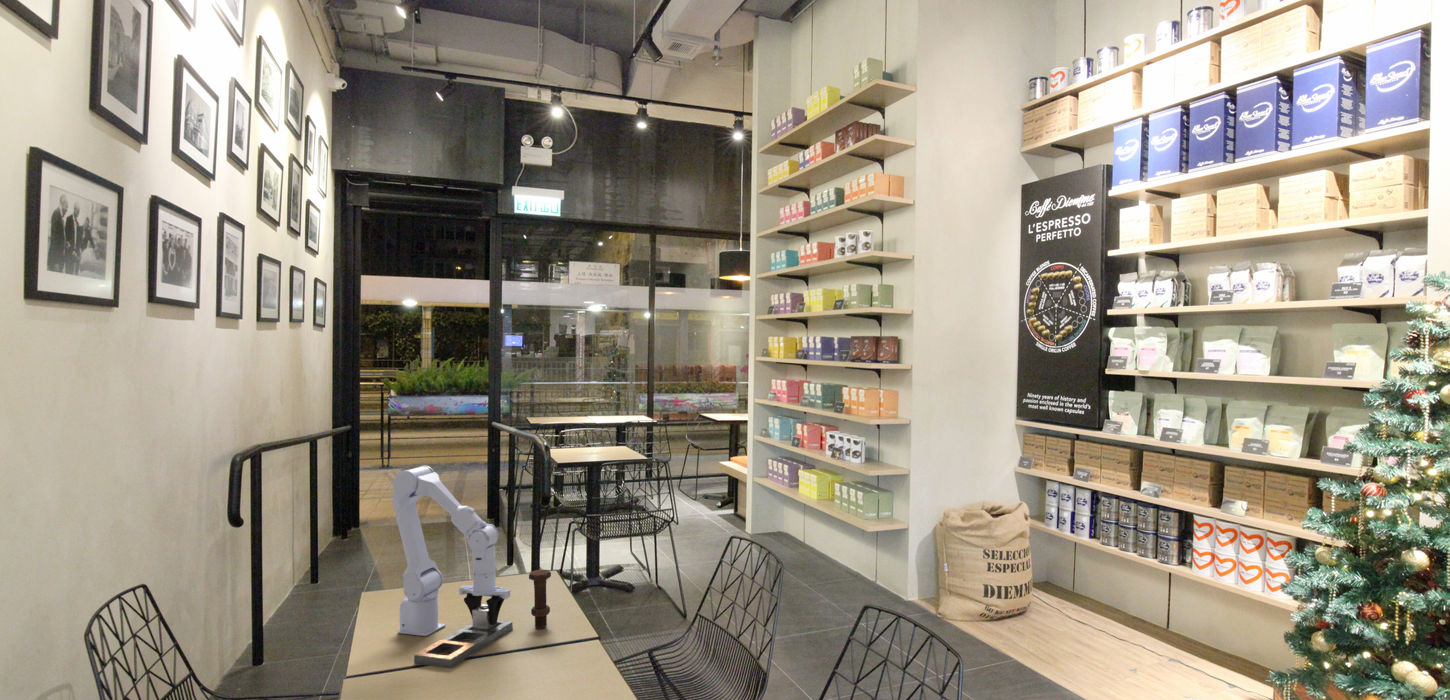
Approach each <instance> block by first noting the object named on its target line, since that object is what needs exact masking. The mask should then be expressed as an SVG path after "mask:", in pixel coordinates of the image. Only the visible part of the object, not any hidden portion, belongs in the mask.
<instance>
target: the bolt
mask: <svg viewBox="0 0 1450 700" xmlns="http://www.w3.org/2000/svg"><path fill="white" fill-rule="evenodd" d="M551 576H552V572H551V571H550V570H549V569H537V570H536V569H535V570H532V571H530V573H529V574H528V579H529V580H530V581H531V580H532V581H533V590H534V591H533V592H534V597H533V598H534V606H532V608H531V609H530V610H531V611H530V614H531V615H532V616H533V617H534V628H536V629H545V628H546V627H547V625H548V623H547V622H548V618H547V616H548V615H549V614H550V612H551V607H550V606H549V605H547V580H548V579H550V578H551Z"/></svg>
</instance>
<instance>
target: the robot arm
mask: <svg viewBox="0 0 1450 700" xmlns="http://www.w3.org/2000/svg"><path fill="white" fill-rule="evenodd" d="M392 486H393V495H392V506H393V511H394V514H395V519H396V523H397V527H398V531H399V534H400V538H401V543H402V547H403V551H404V554H405V560H406V563H407V566H406V569H405V570H404V572H403V575H402V577H403V588H402V591H403V594H404V596H405V597H404V598H403V599H402V601H401V603H400V606H399V630H397V633H398V634H406V635H412V636H413V635H415V636H420V637H421V636H422V637H427V636H429V635H431V634H433V633H435V632H437V631H439V630H441V629H442V628H444V627H446V623H440V622H439V589H440V588H441V587H442V586H443V583H444V577H443V574H442V572H441V571H440V569H439V568H438V566H437V563H436V561H434V560H432V559H431V558H430V557H429V553H428V548H427V545H426V541H425V537H424V532H423V528H422V525H421V524H422V523H421V521H420V516H419V513H418V508H417V504H416V503H417V502H418V499H419V498H420V497H421V496H428V497H430V498H432V499H433V500H434V501H435V502H436V503H438V504H439V505H440V506H441V507H442V508H443V509H444V510H445V511H446V512H448V513H449V514H450V515H451V517H450V520H451V521H450V522H451V523H452V524H453V525H454V526H455V527H456V528H457V530H459V531H460V532H461V533H462V534H463V535H464V536H465V537H466V539H467V545H468V547H469V548H470V549H471V556H472V585H466V584H465V585H461V586H460V587H459V591H458V592H459V596H460V595H462V596H463V595H466V597H464V598H463V602H464V603H465V605H466V606H467V608H468V610H469V612H470V615H471V619H472V620H473V614H472V610H473V609H475V608H477V607H479V606H481V605H482V599H483V597H489V598H488V599H486V601H485V602H486V605H488V609H489V620H490V625H494V624H495V623H497V620H499V619H498V618H499V614H500V611H501V608H502V605H503V603H504V602H505V600H506V599H509V598H510V597H511V589H507V588H504V587H500V586H497V584H496V583H497V581H496V580H497V579H496V543H498V541H499V538H500V533H499V530H498V529H497V527H496V526H495V525H494V524H492V523H491V524H490V523H487V522H486V521H485V520H482V518H481V517H479V515H478V514H477V513H476V512H475V511H476V510H475V509H474V508H473V507H470V506H469V505H462V504H460V502H459V501H458V500H457V498H455V496H454V495H453V494H452V493H451V492H450V490H449V489H448V488H447V487H446V486H445V485H444V483H443V482H442V481H441V479H440V475H439V474H438V473H437V472H435V471H434V469H433V468H432V467H430V466H428V465H420V466H417V467H415V468H411V469H407V470H401V471H400V472H398V473H397V475H396V476H395V478H394V479H393V480H392Z"/></svg>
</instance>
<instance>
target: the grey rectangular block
mask: <svg viewBox="0 0 1450 700" xmlns="http://www.w3.org/2000/svg"><path fill="white" fill-rule="evenodd" d="M472 614H473V619H472V622H473V630H475V631H484V632H489V631H491V630H492V629H494V628H496V627H497V623H495V624H494V625H490V620H489V609H488V605H487V604H484V603H481V606H479V607H477V608H475V609H473V610H472Z"/></svg>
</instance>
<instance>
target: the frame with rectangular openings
mask: <svg viewBox="0 0 1450 700" xmlns="http://www.w3.org/2000/svg"><path fill="white" fill-rule="evenodd" d="M513 627H514V626H513V621H508V620H500V619H497V627H496V628H494V629H492V630H491V631H489V632H484V631H475V630H473V621H472V622H470V623H469V624H467V625H465V626H463V627H462V628H461V627H460V629H458V630H457V631H454V632H452V633H451V634H449V635H447V636H445V637H444V638H442V639H439V640H437V641H436V642H434V643H432V644H430V645H429V646H426V647H425V648H423V649H421V650H420V651H418V652H416V653H415V654H414V655H413V656H414V657H413V658H414V659H413V660H414V661H413V664H414V665H421V666H422V665H423V666H429V667H430V666H431V667H436V668H437V667H438V668H443V669H444V668H445V669H452V668H454V667H455V666H457V665H458V664H461V663H462V662H463V661H465V660H467V659H468V658H470V657H471V656H473V655H474V654H476V653H478V652H479V651H480V650H483V649H484V648H485V647H487V646H488V645H489V644H492V643H494V642H495V641H497V640H498V639H499V638H501V637H503V636H504V635H505V634H507V633H509V632H510V631H512V630H513ZM465 639H468V640H467V641H471V642H465V641H463V640H465ZM461 640H462V641H463V642H462V641H461ZM459 641H460V642H459ZM444 652H445V653H450V654H447V655H444V654H441V653H444ZM472 654H473V655H472ZM470 655H471V656H470ZM469 656H470V657H469ZM466 658H467V659H466Z"/></svg>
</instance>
